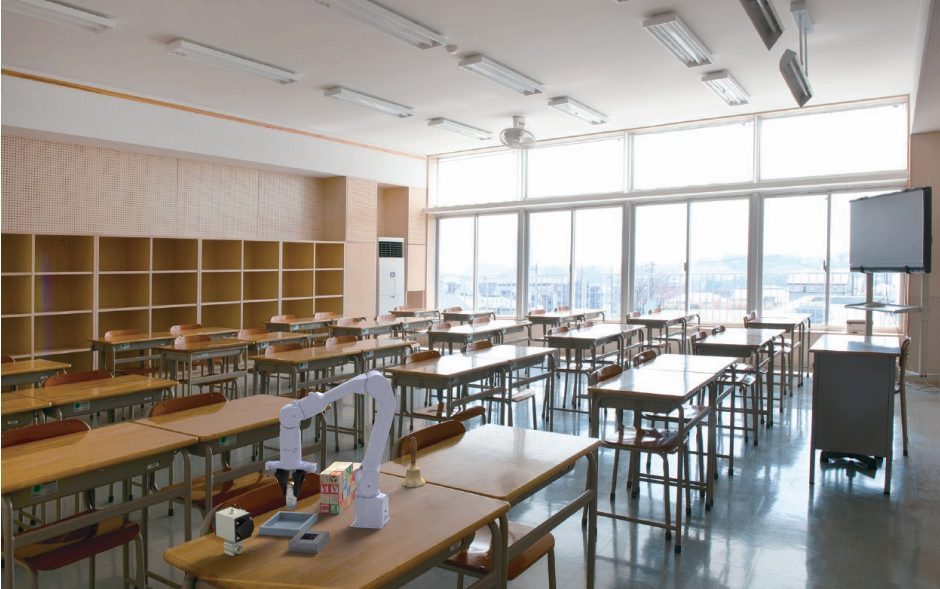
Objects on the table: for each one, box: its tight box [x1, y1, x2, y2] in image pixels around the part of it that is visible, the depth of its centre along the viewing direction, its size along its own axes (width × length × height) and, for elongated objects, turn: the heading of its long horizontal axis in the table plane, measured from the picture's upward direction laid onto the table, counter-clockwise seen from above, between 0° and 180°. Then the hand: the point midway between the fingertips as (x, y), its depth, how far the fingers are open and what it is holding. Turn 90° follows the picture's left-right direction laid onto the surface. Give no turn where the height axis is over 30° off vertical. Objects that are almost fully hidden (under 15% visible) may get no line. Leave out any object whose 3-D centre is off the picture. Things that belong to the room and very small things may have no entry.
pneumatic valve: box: [211, 506, 255, 556], centre depth 171 cm, size 6×12×12 cm, turn 57°
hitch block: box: [287, 529, 330, 554], centre depth 174 cm, size 8×8×3 cm
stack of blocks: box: [319, 461, 362, 515], centre depth 208 cm, size 21×6×12 cm, turn 169°
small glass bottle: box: [285, 480, 298, 511], centre depth 183 cm, size 3×3×7 cm
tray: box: [258, 510, 319, 538], centre depth 186 cm, size 12×12×2 cm
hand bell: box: [401, 436, 426, 488], centre depth 224 cm, size 8×8×16 cm
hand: (291, 495), depth 184 cm, fingers closed on small glass bottle, 3 cm apart
